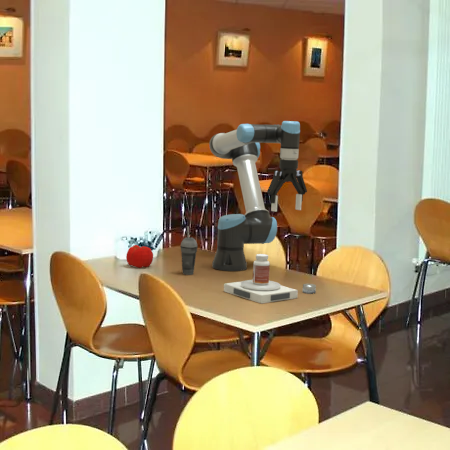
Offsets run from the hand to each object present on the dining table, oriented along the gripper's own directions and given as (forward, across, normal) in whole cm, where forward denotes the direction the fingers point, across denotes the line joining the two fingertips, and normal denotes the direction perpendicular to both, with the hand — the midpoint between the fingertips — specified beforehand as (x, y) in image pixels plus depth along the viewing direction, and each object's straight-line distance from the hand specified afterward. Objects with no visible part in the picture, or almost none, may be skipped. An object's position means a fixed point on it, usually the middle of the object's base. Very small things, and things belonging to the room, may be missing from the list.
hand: (286, 210), depth 340 cm
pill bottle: (+25, -28, -18) cm, 41 cm away
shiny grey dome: (+29, -8, -24) cm, 38 cm away
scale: (+29, -28, -18) cm, 44 cm away
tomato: (+29, -40, +48) cm, 69 cm away
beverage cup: (+29, -30, +26) cm, 49 cm away
